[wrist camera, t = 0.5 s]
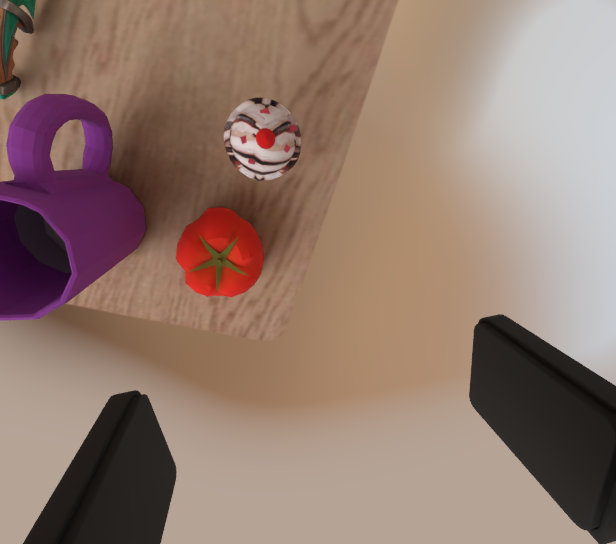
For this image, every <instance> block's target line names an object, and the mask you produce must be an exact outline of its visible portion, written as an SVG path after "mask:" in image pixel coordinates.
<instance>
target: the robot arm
mask: <svg viewBox="0 0 616 544" xmlns="http://www.w3.org/2000/svg"><path fill="white" fill-rule="evenodd" d="M469 397H470V401H471V404H472V405H473V407H474V408H475V410H476V411H477V412H478V413H479V414H480V415H481V416H482V418H483V419H484V420H485V421H486V422H487V424H488V425H489V426H490V427H491V428H492V429H493V430H494V432H496V434H497V435H498V436H499V437H500V438H501V439H502V441H503V442H504V443H505V444H506V445H507V446H508V447H509V449H510V450H511V451H512V452H513V453H514V454H515V456H516V457H517V458H518V459H519V460H520V461H521V462H522V464H523V465H524V466H525V467H526V468H527V469H528V470H529V472H530V473H531V474H532V475H533V476H534V477H535V478H536V480H537V481H538V482H539V483H540V484H541V485H542V487H543V488H544V489H545V490H546V491H547V492H548V493H549V495H551V497H552V498H553V499H554V500H555V501H556V502H557V504H558V505H559V506H560V507H561V508H562V509H563V511H564V512H565V513H566V514H567V515H568V516H569V517H570V519H571V520H572V521H573V522H574V523H575V524H576V525H577V526H579V527H580V528H581V529H584V530H587V531H588V532H589V533H590V534H591V535H592V536H593V538H594V539H595V540H596V541H597V542H598V543H599V544H607V543H610V542H613V541H616V386H615V385H613V384H612V383H610V382H608V381H607V380H605V379H604V378H602V377H601V376H599V375H597V374H596V373H594V372H593V371H591V370H589V369H588V368H586V367H585V366H583V365H582V364H580V363H579V362H577V361H575V360H574V359H572V358H571V357H569V356H567V355H566V354H564V353H563V352H561V351H560V350H558V349H557V348H555V347H553V346H552V345H550V344H549V343H547V342H546V341H544V340H542V339H541V338H539V337H538V336H536V335H534V334H533V333H531V332H530V331H528V330H526V329H525V328H523V327H522V326H520V325H519V324H517V323H516V322H514V321H513V320H511V319H509V318H507V317H506V316H504V315H495V316H490V317H485V318H482V319H480V320H479V322H478V324H477V325H476V326H475V329H474V339H473V353H472V366H471V380H470V393H469ZM175 480H176V466H175V463H174V461H173V458H172V455H171V453H170V451H169V448H168V445H167V443H166V440H165V438H164V435H163V433H162V431H161V428H160V426H159V423H158V421H157V418H156V416H155V413H154V411H153V408H152V406H151V403H150V401H149V398H148V397H147V395H145V394H143V395H141V394H140V392H139V391H130V392H125V393H121V394H116V395H113V396H111V397H110V399H109V400H108V402H107V403H106V405H105V407H104V408H103V410H102V412H101V414H100V415H99V417H98V419H97V420H96V422H95V424H94V425H93V427H92V429H91V430H90V432H89V434H88V435H87V437H86V439H85V440H84V442H83V444H82V445H81V447H80V449H79V450H78V452H77V454H76V455H75V457H74V459H73V460H72V462H71V464H70V466H69V467H68V469H67V471H66V472H65V474H64V476H63V477H62V479H61V481H60V483H59V484H58V486H57V487H56V489H55V491H54V492H53V494H52V496H51V497H50V499H49V501H48V503H47V504H46V506H45V507H44V509H43V511H42V512H41V514H40V516H39V518H38V519H37V521H36V522H35V524H34V526H33V528H32V529H31V531H30V533H29V534H28V536H27V538H26V539H25V541H24V543H23V544H160V543H161V539H162V534H163V531H164V526H165V522H166V518H167V514H168V510H169V505H170V502H171V498H172V494H173V489H174V485H175Z"/></svg>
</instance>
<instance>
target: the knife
mask: <svg viewBox="0 0 616 544" xmlns="http://www.w3.org/2000/svg"><path fill="white" fill-rule="evenodd" d="M35 1H36V0H0V99H3V100H4V99H5V98H7V97H9V96H11V95H12V94H14V93H15V92H16V90H17V89H18V88H19V87H20V84H21V81H20V79H19V78H18V77H16V76H14V75H13V74H12V70H13V68H14V65H15V64H14V61H13V51H14V50H15V48H16V46H17V45H18V41H17V40H16V39H15V37H14V36H15V33H16V30H17V27H18V28H19V29H21V30H22V31H23V32H26V33H30V34H31V33H33V30H34V29H33V23H32V20H31V18H30V17H29V15H28V14H27V13H26V12H24V11H23V10H22V9H21V8H19V6H20V5H25V6H26V7H27V9H28V10H29V12H30V14H31V16H32V18H33V19H34V10H35Z"/></svg>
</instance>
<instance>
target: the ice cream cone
mask: <svg viewBox="0 0 616 544" xmlns="http://www.w3.org/2000/svg"><path fill="white" fill-rule="evenodd" d="M224 143H225V148H226V151H227V154H228V156H229V158H230V160H231V162H232V163H233V164H234V166H235V167H236V168H237V169H238V170H239V171H240V172H242V173H243V174H245V175H246V176H248V177H250V178H252V179H254V180H257V181H264V180H271V179H276V178H278V177H280V176H282V175H283V174H285V173H286V172H288V171H289V170H290V169H291V168H292V167H293V166H294V165H295V163H296V162H297V160H298V157H299V154H300V148H301V135H300V130H299V127H298V124H297V122H296V120H295V119H294V117H293V115H292V114H291V113H290V112H289V111H288V110H287V109H286V108H285V107H284V106H283V105H281V104H280V103H278V102H276V101H274V100H271V99H267V98H253V99H249V100H247V101H245V102H243V103H242V104H240V105H239V106H238V107H237V108H236V109H235V110H234V111H233V112H232V113H231V115H230V117H229V118H228V120H227V122H226V125H225V129H224Z"/></svg>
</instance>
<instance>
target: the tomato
mask: <svg viewBox="0 0 616 544" xmlns="http://www.w3.org/2000/svg"><path fill="white" fill-rule="evenodd" d="M176 260H177V262H178V263H179V264H180V265H181V267H182V268H183V269H184V270H185V282H186V284H187V285H188V286H189V287H191V288H192V289H193V290H194V291H195V292H197V293H200V294H202V295H205V296H207V297H208V296H228V297H233V296H236V295H239V294H242V293H244V292H246V291H247V290H248V289H249V288H251V287H252V286H253V285H254V284H255V283H256V281H257V279H258V278H259V276H260V274H261V271H262V265H263V260H264V256H263V245H262V243H261V241H260V239H259V237H258V234H257V232H256V230H255V229H254V228H253V227H252V225H251V224H250V223H249V222H248V221H246V220H244V219H242V218H240V217H239V216H238V215H237V214H236V213H235V212H234V211H233V210H230V209H227V208H224V207H220V208H208V209H207V210H206V211H205V212H204V213H203V214H202V215H201V217H200V218H199V219H198V220H196V221H195V222H193V223H191V224H189V225H188V226H186V228H185V230H184V232H183V234H182V236H181V238H180V240H179V242H178V245H177V253H176Z"/></svg>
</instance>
